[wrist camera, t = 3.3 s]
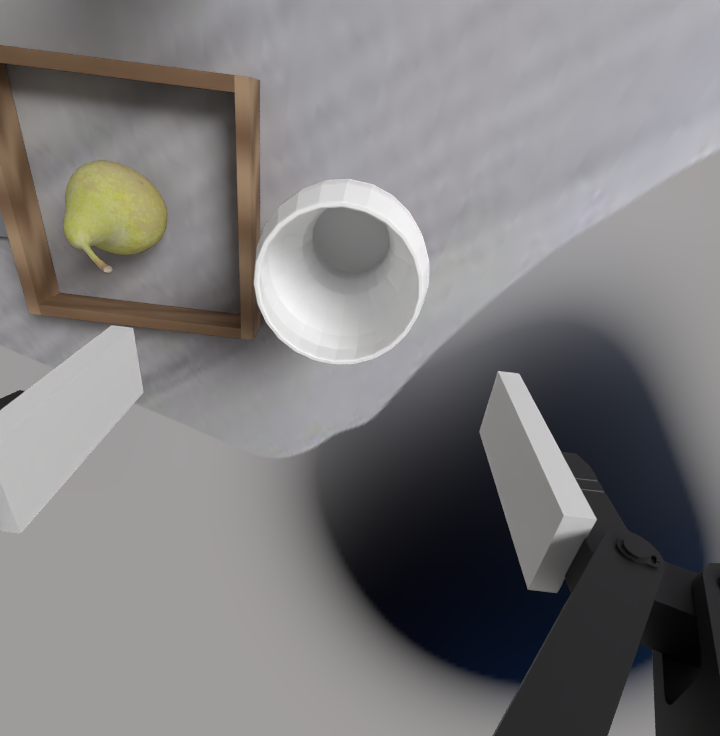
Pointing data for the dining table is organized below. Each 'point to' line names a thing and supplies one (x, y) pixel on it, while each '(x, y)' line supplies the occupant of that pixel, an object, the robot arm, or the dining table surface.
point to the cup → (341, 272)
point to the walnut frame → (25, 226)
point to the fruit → (112, 211)
